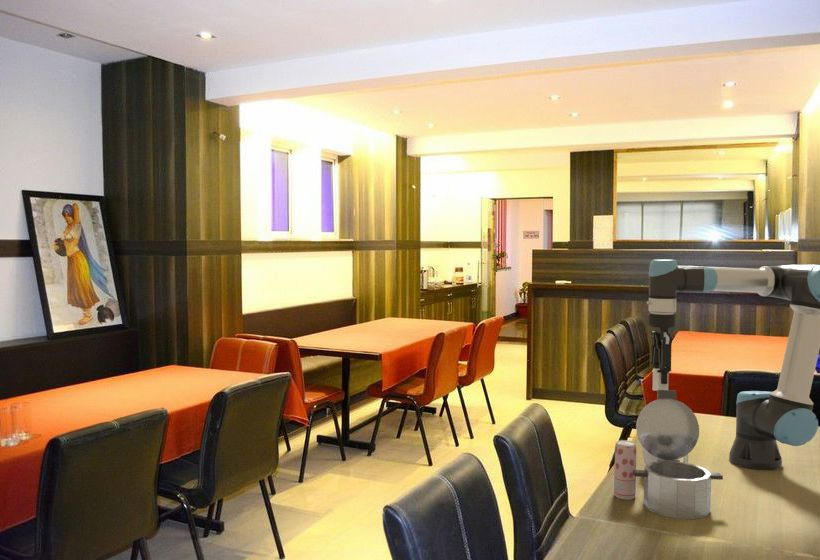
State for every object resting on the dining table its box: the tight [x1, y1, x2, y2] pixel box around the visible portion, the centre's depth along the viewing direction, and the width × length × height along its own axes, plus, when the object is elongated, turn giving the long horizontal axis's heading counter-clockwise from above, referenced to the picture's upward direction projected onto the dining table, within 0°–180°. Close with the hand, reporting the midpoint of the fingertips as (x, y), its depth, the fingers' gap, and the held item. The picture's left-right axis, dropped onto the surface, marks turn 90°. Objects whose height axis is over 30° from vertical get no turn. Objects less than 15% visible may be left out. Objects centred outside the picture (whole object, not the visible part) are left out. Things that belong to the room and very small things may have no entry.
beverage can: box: [613, 439, 637, 501], centre depth 193 cm, size 6×6×15 cm
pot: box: [633, 461, 724, 520], centre depth 185 cm, size 22×16×10 cm
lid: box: [635, 389, 700, 462], centre depth 195 cm, size 17×20×3 cm
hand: (660, 392), depth 203 cm, fingers open, 5 cm apart
